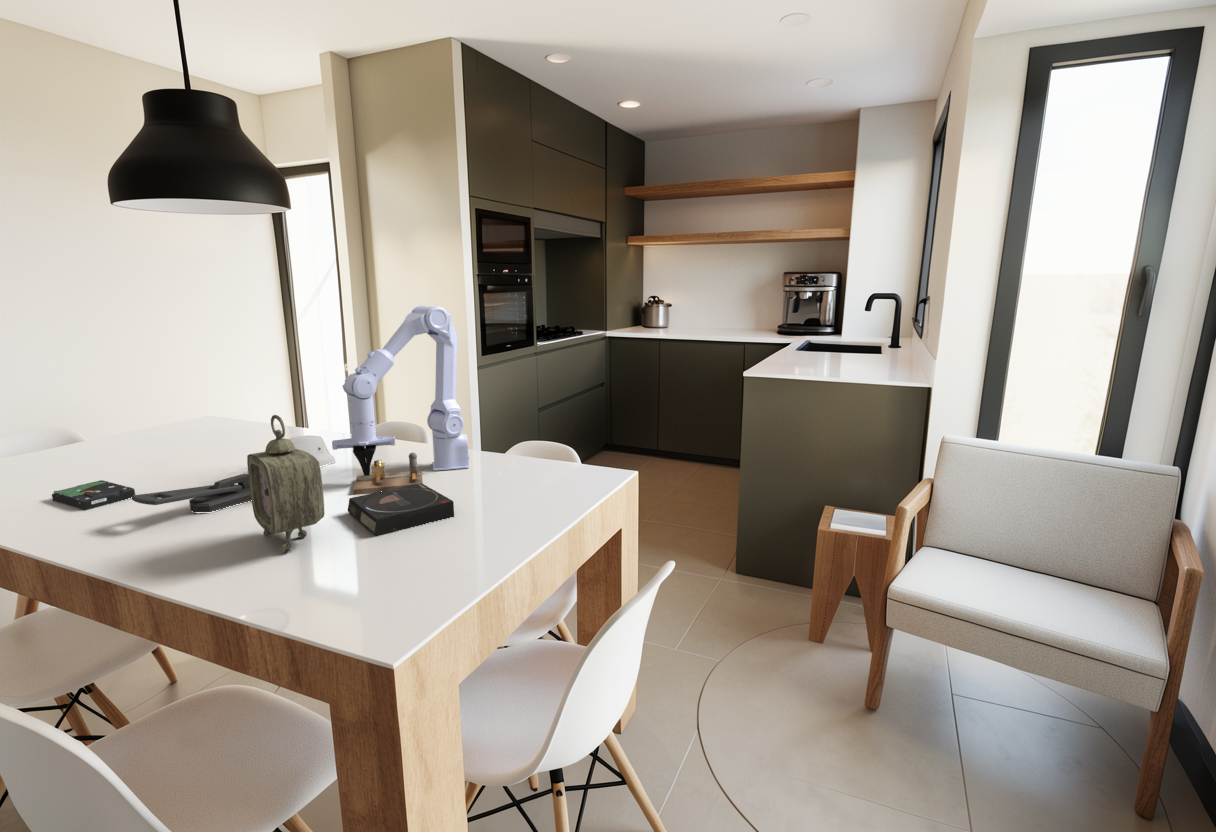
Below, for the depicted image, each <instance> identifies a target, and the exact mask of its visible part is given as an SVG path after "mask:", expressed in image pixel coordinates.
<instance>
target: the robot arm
mask: <svg viewBox="0 0 1216 832" xmlns="http://www.w3.org/2000/svg"><path fill="white" fill-rule="evenodd" d="M423 334H427V335H428V336H429V337H430V338H431V339H432V340H434V342H436V344H435V345H436V347H435V349H436V351H435V388H434V389H435V392H434V393H435V394H434V395H435V396H434V400H433V402H432V403H431V405H430V410H429V411H430V412H429V413H428V415H427V419H426V420H427V422H426V424H427V425H428V427H429V429H431V433H432V448H433V449H432V450H433V461H432V462H431V464H432V470H433V472H434V471H437V472H438V471H444V470H445V471H447V470H457V469H458V470H459V469H460V470H461V469H469V468H470V461H469V460H470V453H469V443H468V442H469V440H468V435H467V434H466V433H462V431H463V429H464V425H465V421H464V418H463V416H462V409H461V406H460V405H459V404H458V402H457V367H458V366H457V363H458V362H457V361H458V333H457V332H456V329H455V328H454V325H453V322H452V315H451V314H450V313H449V312H448V311H447V310H446V309H445V308H443V307H442V306H438V305H436V306H427V305H426V306H425V305H417V306H415V307H414V308H413V309H412V310H411V312H409V313H408V314H407V315H406V316H405V319H404V320H403V321H402V322H401V324H400V326H399V327H398V328H397V329H396V331H395V332H394V333H393V334H392V336H391V337H390V339H389V340H388V341H387V342H386V344H385V345H384V346H383V347H382V348H380V349H378V348H377V349H374V350H372V351H369V352H368V353H367V355H366V356H367V358H366V359H365V360H364V361H363V362H362V363H361V365H360V366H359V367H358V366H357V367H356V368H355V369H354V371H355V372H353V373H350V374H349V375H347V376H346V378H345V379H344V383H343V384H342V389H343V391H344V392H345V394H346V395H347V400H348V402H347V403H348V413H349V422H350V423H349V424H350V425H349V427H350V436H351V437H350V438H344V439H342V438H341V439H334V440H332V441H331V444H332V446H331V447H332V448H331V449H332V450H334V451H335V450H338V449H351V448H352V453H353V455H354V456H355V458H356V459H357V461H358V463H359V465H360V467H361V470H362V473H363V474H362V475H364V476H369V475H371V466H372V461H373V457H374V455H375V453H376V450H377V447H380V446H381V447H382V446H383V447H384V446H396V437H395V435H394V436H393V435H392V436H378V435H377V434H376V433H377V432H376V430H377V429H376V421H375V420H376V419H375V409H374V408H375V407H374V394H376V392H377V388H378V387H377V386H378V384H379V383H380V382H381V380H382V379H383V378H384V377H385V376H386V374H388V372H389V371H390V370H391V368H392V367H393V366H394V365H395V362H394V361H395V359H394V358H395V357H396V356H397V354H399V352H400V351H401V350H403V348H404V347H405V346H406V345H407V344H408V343H409V342H410V341H411V340H412V339H413V338H414V337H415V336H418V335H423ZM461 433H462V434H461Z"/></svg>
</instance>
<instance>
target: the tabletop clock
mask: <svg viewBox="0 0 1216 832" xmlns="http://www.w3.org/2000/svg"><path fill="white" fill-rule="evenodd" d="M275 419H276V420H277V421H278V422H279V424H280V426H281V429H282V430H281V429H276V428H275V422H274V421H275ZM270 426H271V430H272V434H273V435H274V436H275V439H272V440H269V442H268V443H267V445H266V447H265V449H264V450H265V451H262V452H261V451H260V452H256V453H250V454H248V455H246V456H247V457H246V458H247V460H246V461H247V463H246V464H247V474H248V477H249V486H250V493H251V500H252V501H251V505H252V506H251V507H252V510H253V515H254V518H255V520H256V522H257V523H258V525H259V526H260V527H261V528H262V529H263V536H265V537H271V536H274V535H277V534H281V533H285V538H284V539H285V541H284V543H283V545H282V544H281V547H280V551H281V552H282V553H284V554H286V553H288V552H290V551H291V548H292V547H291V545H290V544H289V541H290V538H291V535H292V533H293V531H294V530H297V529H298V533H297V536H298V537H299V538H300V539H305V538H306V536H308V532H307V531H306V530H305V529H303V528H304V527H305V528H307V527H310V526H314V525H317V524H318V522H319V521H320V520H322V519H323V518H324V517H325V499H324V497H325V496H324V487H323V478H322V470H321V467H320V465H319V462H318V460H317V459H316V458H315V457H314V456H312V455H311V454H309V453H307V452H305V451H302V450H299V449H295V446H294V444H293V443H292V441H290V440H289V439H290V438H285V435H286V428H285V423H284V420H283V419H282V417H280V415H277V414H273V415H271V417H270Z"/></svg>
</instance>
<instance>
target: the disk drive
mask: <svg viewBox="0 0 1216 832" xmlns="http://www.w3.org/2000/svg"><path fill="white" fill-rule="evenodd" d="M133 495H136V491H135V488H133V487H130V486H127V485H122V484H118V483H115V482H110V481H107V480H103V479H102V480H97V481H92V482H87V483H84V484H79V485H76V486H72V487H69V488H64V489H59V490H54V491H53V493H52V494H51V498H52V501H54V502H56V503H60V504H64V505H66V506H69V507H73V508H75V509H76V508H77V509H78V510H82V511H87V510H92V509H95V508H100V507H103V506H107V504H108V505H111V504H115V503H118V501H119V502H122V501H121V500H123V501H126V500H125V499H127V500H129V499H128V498H130V499H132V498H131V497H132V496H133ZM114 502H115V503H114Z"/></svg>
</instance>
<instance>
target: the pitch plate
mask: <svg viewBox="0 0 1216 832" xmlns="http://www.w3.org/2000/svg"><path fill="white" fill-rule="evenodd" d="M417 455H418V454H416V453H415V452H410V453H409V454H408V460H409V471H397V472H385V478H380V482H376V478H373V479H372V473H370V475H369V476H364V474H362V475H361V474H360V475H356V478H355V482H354V485H353V488H352V494H353V495H366V494H372V493H374V492H376V493H377V492H381V491H387V490H391V489H396V488H401V487H406V486H411V485H416V484H420V483H422V484H424V483H423V470H421V469H420V470H418V461H417V459H418V456H417Z"/></svg>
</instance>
